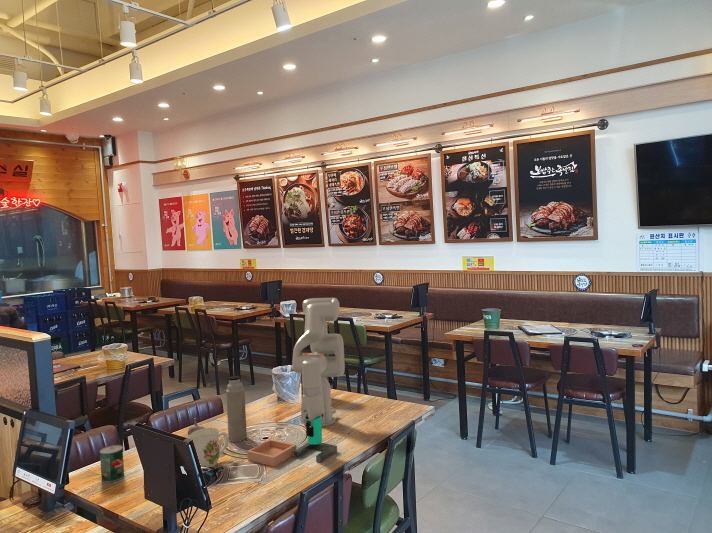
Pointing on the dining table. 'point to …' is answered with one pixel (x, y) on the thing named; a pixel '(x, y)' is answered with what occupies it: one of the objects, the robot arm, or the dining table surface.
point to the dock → (326, 448)
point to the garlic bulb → (194, 427)
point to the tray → (271, 452)
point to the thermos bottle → (236, 409)
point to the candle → (316, 431)
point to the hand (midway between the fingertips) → (314, 433)
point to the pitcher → (208, 445)
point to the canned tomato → (112, 463)
